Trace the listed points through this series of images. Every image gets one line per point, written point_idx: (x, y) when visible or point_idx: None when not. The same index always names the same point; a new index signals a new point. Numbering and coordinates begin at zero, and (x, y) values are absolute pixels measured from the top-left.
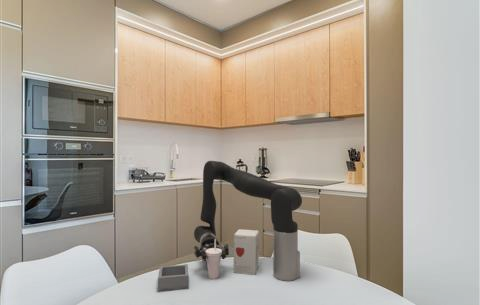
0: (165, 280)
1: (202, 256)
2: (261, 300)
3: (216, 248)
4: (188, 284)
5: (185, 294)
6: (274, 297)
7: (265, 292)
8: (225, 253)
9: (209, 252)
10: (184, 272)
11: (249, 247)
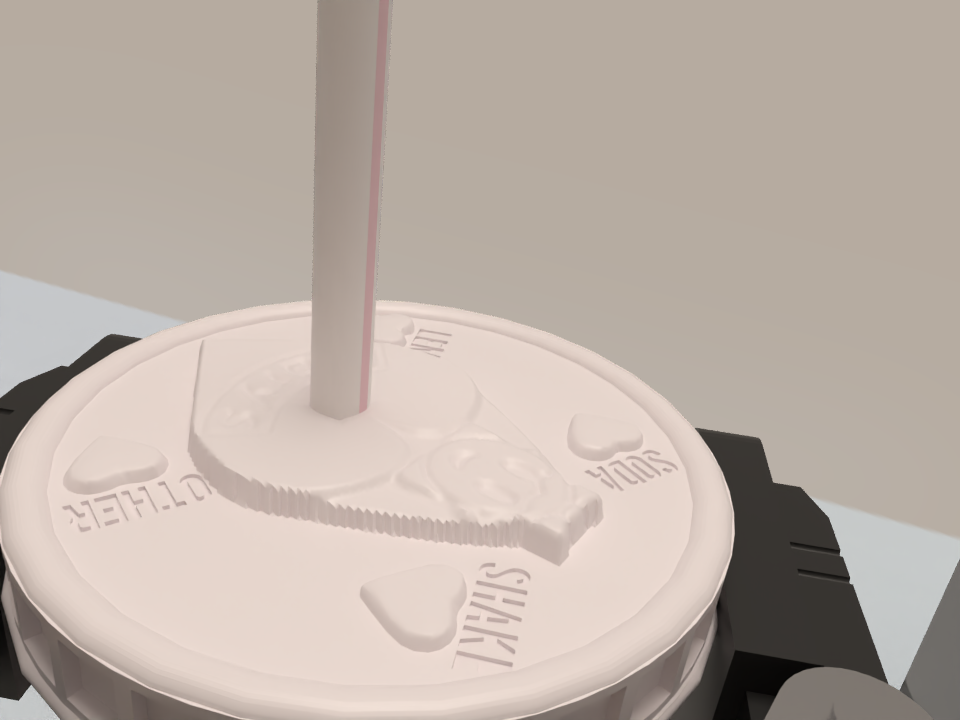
0: None
1: (801, 524)
2: (164, 316)
3: (99, 597)
4: (913, 665)
5: (894, 604)
6: (26, 306)
7: (8, 361)
8: (38, 383)
9: (585, 398)
10: None
11: None
